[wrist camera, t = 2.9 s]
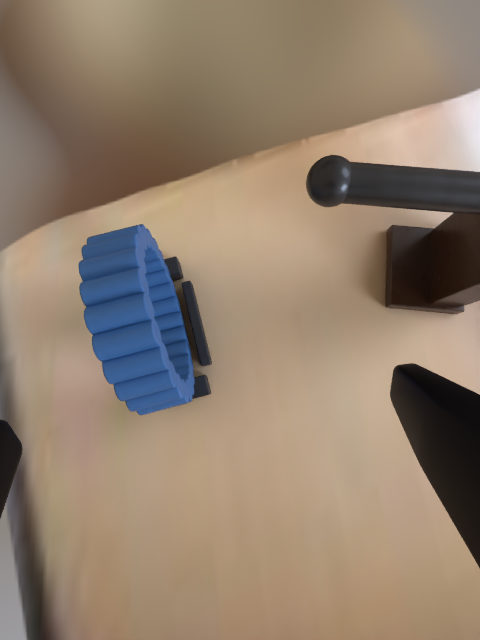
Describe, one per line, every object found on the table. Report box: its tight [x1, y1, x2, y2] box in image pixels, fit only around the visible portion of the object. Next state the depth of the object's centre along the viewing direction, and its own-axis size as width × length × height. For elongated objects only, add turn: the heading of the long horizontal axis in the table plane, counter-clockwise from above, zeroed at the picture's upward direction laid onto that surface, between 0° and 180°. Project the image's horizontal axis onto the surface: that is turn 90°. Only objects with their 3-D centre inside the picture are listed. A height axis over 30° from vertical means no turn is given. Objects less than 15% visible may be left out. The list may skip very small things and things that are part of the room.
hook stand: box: [306, 155, 480, 314], centre depth 17 cm, size 12×6×11 cm, turn 84°
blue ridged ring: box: [79, 224, 195, 415], centre depth 17 cm, size 9×2×9 cm, turn 15°
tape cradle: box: [164, 257, 212, 399], centre depth 21 cm, size 9×5×1 cm, turn 15°
